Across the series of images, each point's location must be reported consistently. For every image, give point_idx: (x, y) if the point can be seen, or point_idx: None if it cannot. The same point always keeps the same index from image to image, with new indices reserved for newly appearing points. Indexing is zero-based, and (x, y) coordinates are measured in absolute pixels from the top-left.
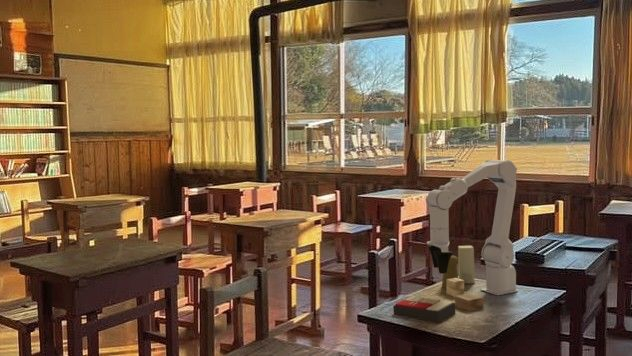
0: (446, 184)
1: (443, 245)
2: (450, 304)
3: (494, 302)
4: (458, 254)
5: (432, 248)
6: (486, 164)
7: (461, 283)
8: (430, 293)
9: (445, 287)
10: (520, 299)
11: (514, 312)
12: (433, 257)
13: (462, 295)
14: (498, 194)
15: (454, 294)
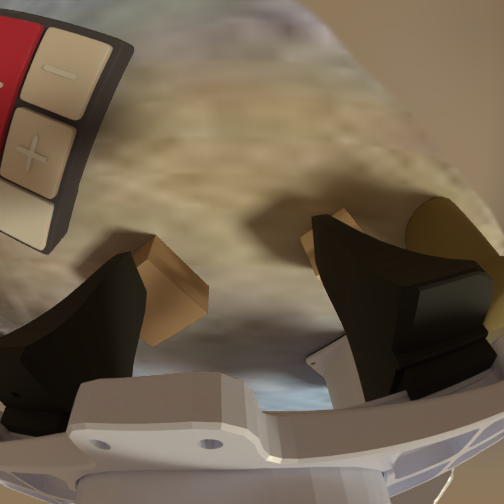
0: None
1: (9, 479)
2: (22, 239)
3: (230, 349)
4: None
5: (387, 324)
6: None
7: None
8: (357, 138)
9: (421, 211)
10: (268, 394)
11: (138, 376)
12: (345, 258)
13: (162, 287)
14: None
15: (302, 241)
